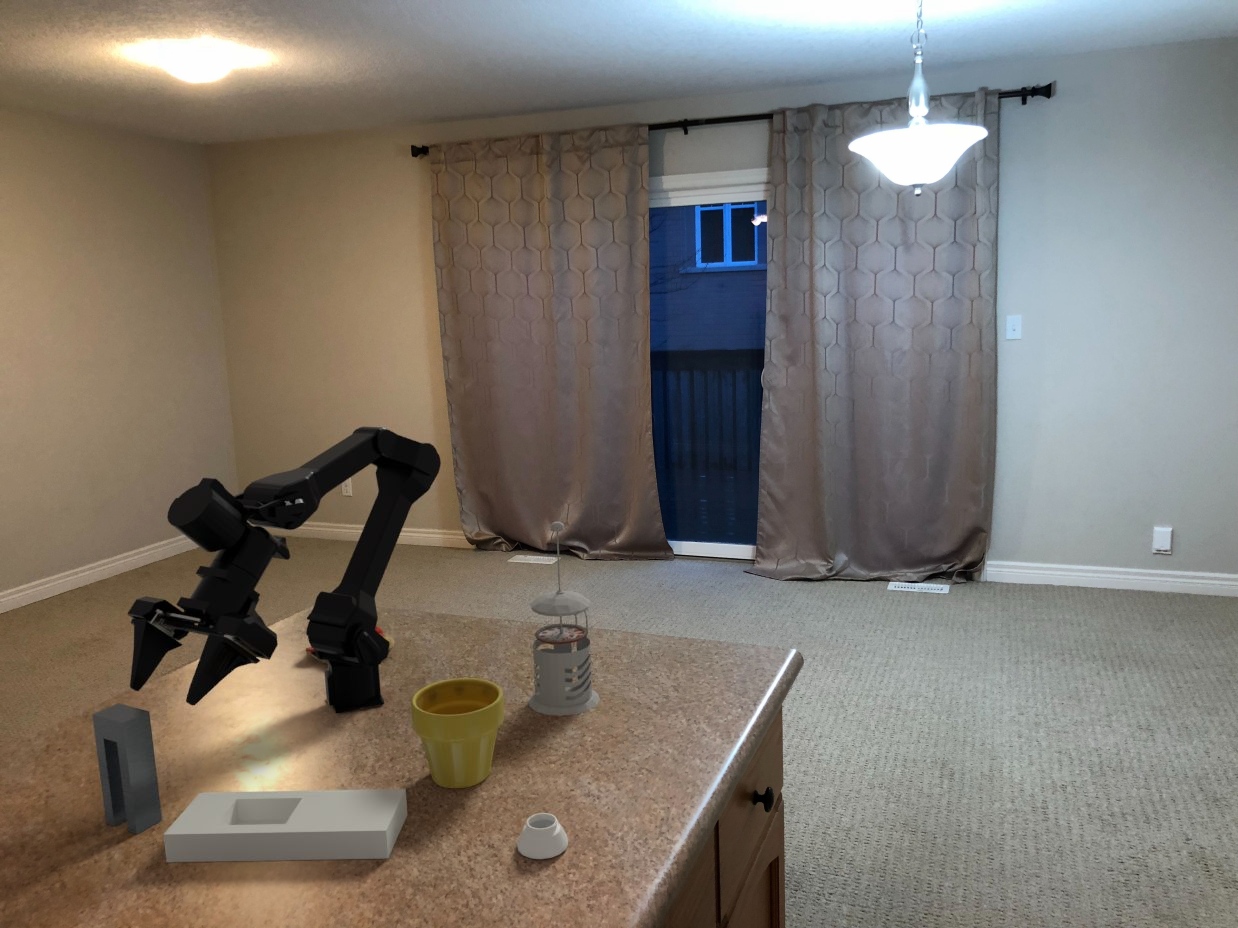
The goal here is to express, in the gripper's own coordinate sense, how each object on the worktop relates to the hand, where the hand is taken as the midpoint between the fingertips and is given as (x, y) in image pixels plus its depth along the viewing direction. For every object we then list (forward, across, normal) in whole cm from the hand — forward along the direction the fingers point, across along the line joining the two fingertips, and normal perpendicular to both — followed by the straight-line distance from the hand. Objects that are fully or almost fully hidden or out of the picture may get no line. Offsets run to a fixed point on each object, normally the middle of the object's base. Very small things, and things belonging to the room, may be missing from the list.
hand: (161, 696), depth 103 cm
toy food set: (-22, +14, -39) cm, 47 cm away
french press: (-21, -26, -38) cm, 51 cm away
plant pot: (-4, -26, -22) cm, 34 cm away
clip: (+12, 0, -5) cm, 13 cm away
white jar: (+2, -42, -16) cm, 45 cm away
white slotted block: (+8, -18, -9) cm, 22 cm away
